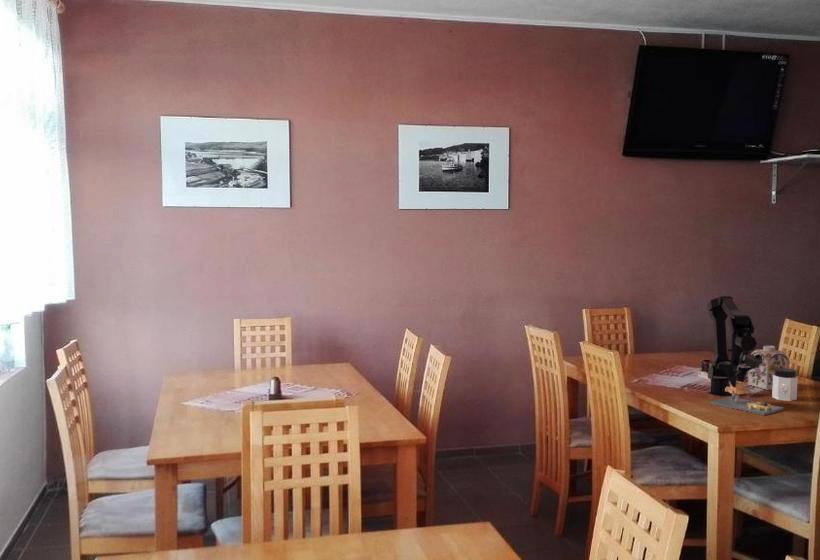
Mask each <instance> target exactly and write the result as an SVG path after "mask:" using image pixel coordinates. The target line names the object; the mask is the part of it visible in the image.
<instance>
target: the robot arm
mask: <svg viewBox="0 0 820 560" xmlns="http://www.w3.org/2000/svg"><path fill="white" fill-rule="evenodd" d="M706 309H707V311H708V316H709V318H710V319H711V320H712V321H713V336H714V357H713V358H712V360H711V363H710V367H709V370H708V372H707V378H708V379H709V380H710V391H708V394H712V395H716V396H721V397H722V396H728V395H732V393H730V392H726V391H725V388H726V387H731V385H732V387H735V386H736V381H739V382H743V383H745V379H746V376H747V375H748V371H750V370H752V369H755V368H759V366H760V364H762V363H763V362H762V355H760V354H757V355H755V356H754V355H751V353H750V351H751V352H752V351H753V350H755V348H756V347H757V340H756V338H755V337H753V335H752V334H754V333H755V327H754V324H753V321H752V319H751V317H750V315H749V314H748V313H746V312H745V311H741V310H740V309H739V307H738V306H737V304H736V303H735V302H734V299H733V297H732V296H730V295H720V296H718V297H716V298H712V299H711V300H709V301H708V303H707V308H706ZM727 319H728V320H727ZM726 320H727V324H728V327H729V330H730V334H731V335H730V347H729V348H728V344H727V342H728V341H727V330H726V329H727V326H726ZM728 352H729V353H730V354H729V355H730V356H729V355H728ZM749 367H750V368H749Z"/></svg>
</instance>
